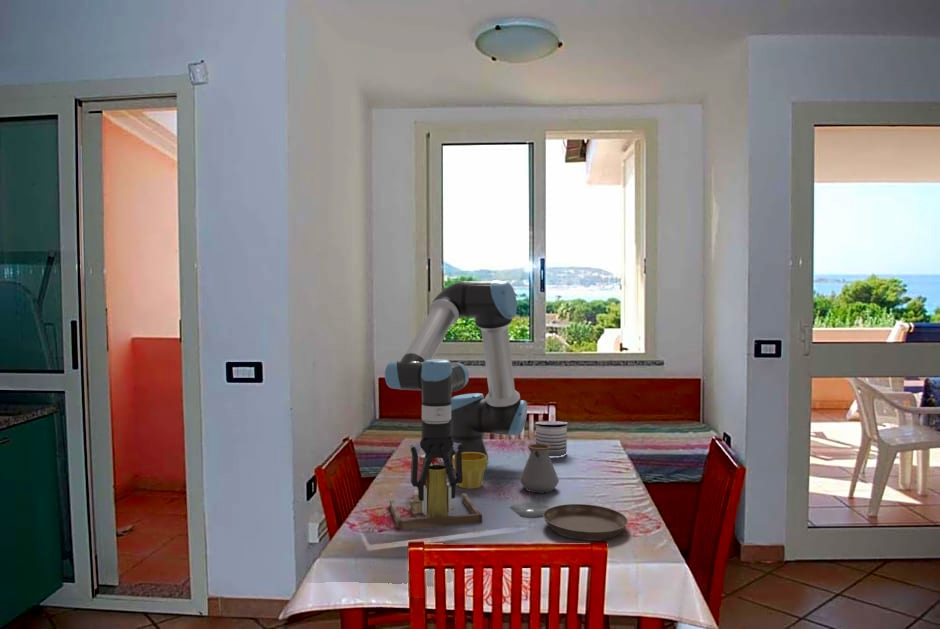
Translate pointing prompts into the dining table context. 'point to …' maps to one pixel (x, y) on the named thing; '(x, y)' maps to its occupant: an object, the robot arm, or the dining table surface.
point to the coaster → (529, 509)
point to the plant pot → (472, 469)
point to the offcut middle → (416, 506)
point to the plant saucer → (585, 521)
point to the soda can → (421, 461)
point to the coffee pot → (539, 470)
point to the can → (552, 436)
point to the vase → (436, 491)
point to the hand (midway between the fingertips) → (436, 511)
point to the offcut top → (416, 496)
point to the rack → (438, 521)
